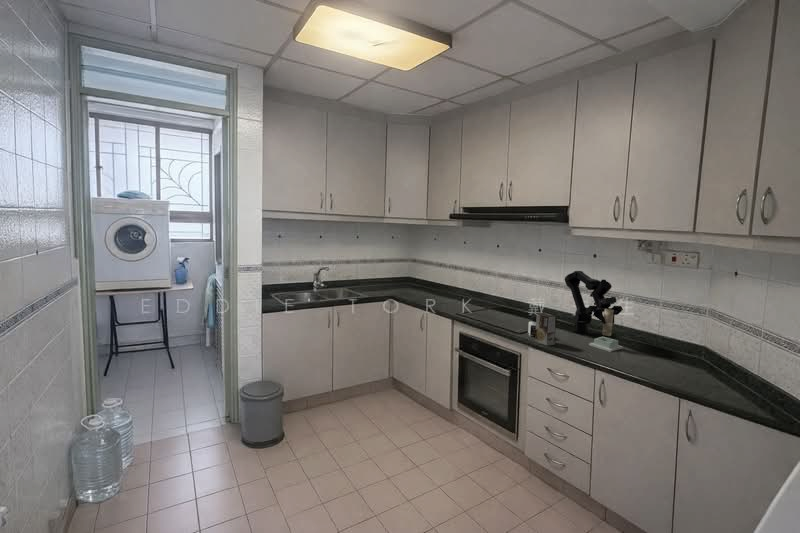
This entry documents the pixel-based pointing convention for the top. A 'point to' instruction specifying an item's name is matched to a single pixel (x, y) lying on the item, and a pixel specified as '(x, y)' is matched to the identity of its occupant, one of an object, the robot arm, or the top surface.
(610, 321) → the birch peg
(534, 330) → the medicine bottle
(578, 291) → the robot arm
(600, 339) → the socket collar
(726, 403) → the top surface
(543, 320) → the coffee box
